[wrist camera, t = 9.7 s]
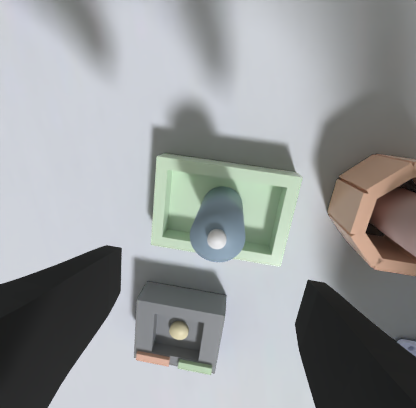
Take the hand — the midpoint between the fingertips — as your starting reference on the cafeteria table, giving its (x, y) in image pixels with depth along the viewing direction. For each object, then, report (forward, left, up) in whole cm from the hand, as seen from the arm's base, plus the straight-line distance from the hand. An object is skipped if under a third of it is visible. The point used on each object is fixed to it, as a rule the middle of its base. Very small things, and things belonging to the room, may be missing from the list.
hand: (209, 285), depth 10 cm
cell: (0, 0, -10) cm, 10 cm away
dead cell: (-11, -2, -10) cm, 15 cm away
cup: (-11, -2, -10) cm, 15 cm away
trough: (0, 0, -10) cm, 10 cm away
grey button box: (+2, +11, -10) cm, 15 cm away
